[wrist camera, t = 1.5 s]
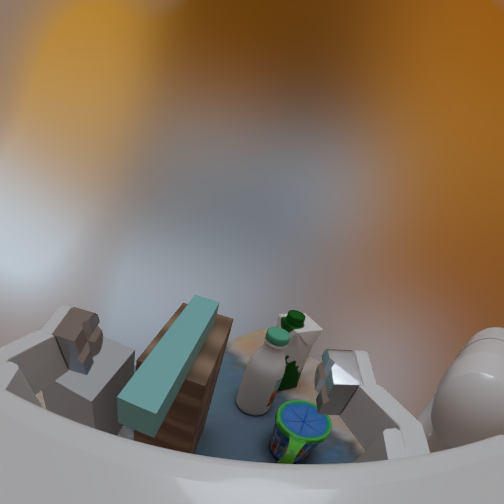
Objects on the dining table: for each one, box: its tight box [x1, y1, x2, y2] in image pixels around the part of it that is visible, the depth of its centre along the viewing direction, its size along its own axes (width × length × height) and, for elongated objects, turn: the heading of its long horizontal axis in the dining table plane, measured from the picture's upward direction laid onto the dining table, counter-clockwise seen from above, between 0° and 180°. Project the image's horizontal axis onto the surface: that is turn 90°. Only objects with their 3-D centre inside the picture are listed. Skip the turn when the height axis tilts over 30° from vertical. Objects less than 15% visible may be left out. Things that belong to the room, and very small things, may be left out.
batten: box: [117, 295, 219, 438], centre depth 32 cm, size 22×4×4 cm, turn 172°
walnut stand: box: [134, 303, 233, 454], centre depth 42 cm, size 16×8×26 cm, turn 172°
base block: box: [42, 336, 135, 435], centre depth 42 cm, size 14×10×16 cm
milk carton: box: [277, 310, 323, 391], centre depth 70 cm, size 9×9×20 cm
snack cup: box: [270, 400, 332, 464], centre depth 50 cm, size 16×10×10 cm
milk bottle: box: [236, 327, 290, 416], centre depth 60 cm, size 8×8×20 cm
